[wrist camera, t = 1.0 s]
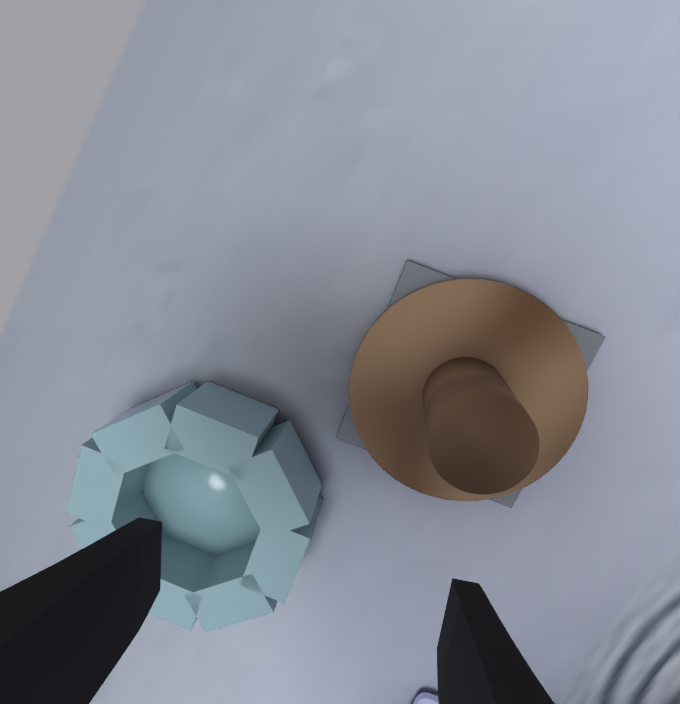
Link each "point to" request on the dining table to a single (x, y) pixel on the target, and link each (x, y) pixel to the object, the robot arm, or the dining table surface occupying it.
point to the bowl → (204, 499)
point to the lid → (468, 389)
